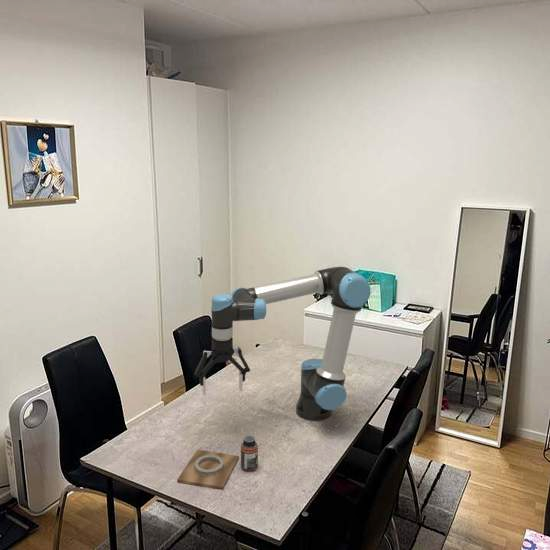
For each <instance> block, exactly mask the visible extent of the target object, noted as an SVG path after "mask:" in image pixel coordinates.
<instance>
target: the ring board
mask: <svg viewBox="0 0 550 550" xmlns="http://www.w3.org/2000/svg"><path fill="white" fill-rule="evenodd" d="M239 459H240V456H239V455H237V454H228V453H223V452H222V453H221V452H215V451H208V450H204V449H203V450H202V449H196V451H195V452H194V454H193V455H192V457H191V458H190V460H189V461H188V463H187V464H186V466H185V468H184V469H183V470H182V472H181V473H180V475H179V476H178V477H177V479H176V481H177V483H181V484H184V485H185V484H186V485H192V486H198V487H205V488H210V489H216V490H222V491H223V490H224V488H225V486H226V484H227V483H228V481H229V480H230V478H231V475H232V473H233V471H234V469H235V467H236V465H237V463H238V461H239Z"/></svg>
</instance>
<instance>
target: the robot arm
mask: <svg viewBox="0 0 550 550" xmlns="http://www.w3.org/2000/svg"><path fill="white" fill-rule="evenodd" d="M313 294H319V295H324V294H331V295H332V297H331V302H330V304H331V307H332V308H333V311H332V316H331V321H330V323H329V324H330V325H329V329H328V334H327V339H326V342H325V348H324V352H323V357H322V358H310V359H306V360H304V361H303V362H302V363H301V367H300V368H301V369H300V395H299V398H298V399H297V402H296V406H295V412H296V414H297V415H298V416H299V417H300V418H302V419H304V420H307V421H308V420H309V421H323V420H326V419H328V418H330V417H331V416H332V414H333V413H332V411H333V410H335V409H338V408H339V407H341V406H342V405H343V404H344V403H345V401H346V399H347V391H346V388H345V387H344V385H345V381H346V374H345V373H344V367H345V363H346V358H347V355H348V350H349V346H350V342H351V336H352V333H353V329H354V325H355V321H356V320H355V319H356V315H357V313H359V312H361V310H362V307H363V306H364V305H365V304H366V303H367V302H368V301H369V299H370V296H371V286H370V283H369V282H368V280H367V279H366V278H365V277H364V276H363V275H362V274H360V273H357V272H355V271H353V270H352V269H351V268H348V267H346V266H332V267H328V268H324V269H320V270H319V269H318V270H315V271H314V273H312V274H309V275H304V276H298V277H296V278H295V277H294V278H291V279H285V280H282V281H277V282H273V283H269V284H263V285H258V286H253V287H249V288H245V287H236V288H235V289H233V291H232V292H231V294H224V293H219V294H216V295H214V296H213V297H212V298H211V307H210V308H211V309H210V310H211V350H206V349H204V350H203V351H202V356H201V359H200V360H199V363H198V364H197V367H196V369H195V371H194V373H193V374H194V376H195V378H199V386H201V387H202V393H203V395H205V396H206V395H207V394H206V391H207V388H206V385H207V383H206V382H207V381H206V375H207V374H208V373H209V371H210V370H211V369H212V368H213V366H214V365H215V364H217V363H228V362H230V363H232V365H234V367H235V368H236V369H238V371H239V372H238V388H239V391H240V392H242V391H243V383H244V382H246V374H247V373H250V372H251V369H250V367H249V365H248V363H247V361H246V359H245V358H244V356H243V353H242V349H241V347H239V346H238V347H237V348H234V341H233V340H234V339H233V338H234V336H233V335H234V332H233V331H234V328H233V327H234V326H233V325H234V323H233V322H241V321H242V322H245V321H258V320H264V319H265V318H266V316H267V305H270V304H273V303H274V304H275V303H278V302H282V301H287V300H291V299H297V298H300V297H305V296H309V295H313ZM234 354H236V355H237V356H238V357H239V359H240V361H241V363H242V364H243V366H244V368H243V366H242V365H241V364H240V363H239V362H238V361H237V360H236V359H235V358H234V357H233V356H234ZM210 356H211V358H210ZM208 358H210V360H209V361H208V362H207V360H208ZM206 362H207V364H206V365H205V363H206ZM204 365H205V366H204Z"/></svg>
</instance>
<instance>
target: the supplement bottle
mask: <svg viewBox="0 0 550 550" xmlns="http://www.w3.org/2000/svg"><path fill="white" fill-rule="evenodd" d="M258 460H259V445H258V443H257V442H256V437H255V436H253V435H245V436H244V437H243V442H242V443H241V444H240V467H241V469H242V470H243V471H245V472H253V471H255V470H257V469H258V465H259V461H258Z"/></svg>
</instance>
